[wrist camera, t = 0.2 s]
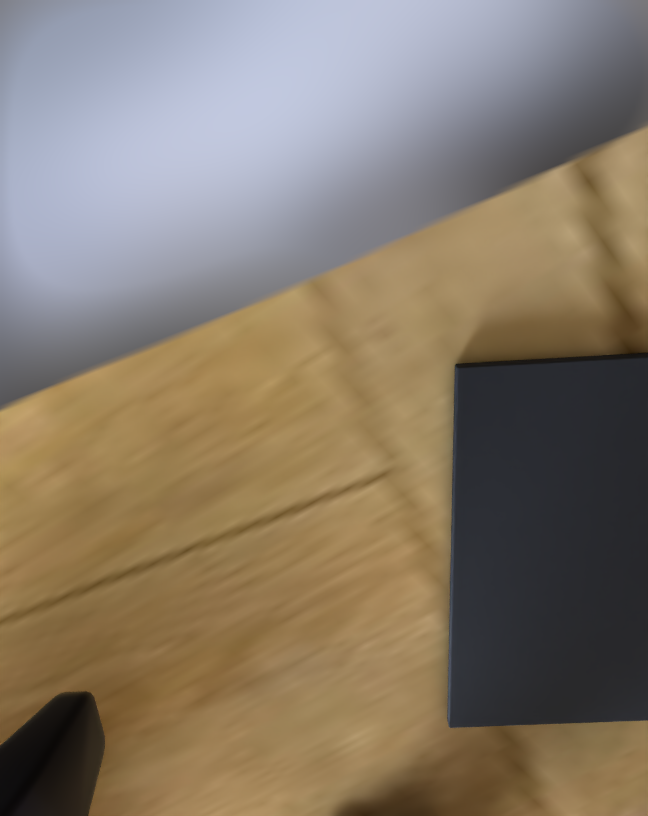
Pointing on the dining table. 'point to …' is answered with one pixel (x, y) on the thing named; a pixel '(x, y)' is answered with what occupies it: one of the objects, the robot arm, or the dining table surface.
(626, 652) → the placemat
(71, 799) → the robot arm
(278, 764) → the dining table surface
